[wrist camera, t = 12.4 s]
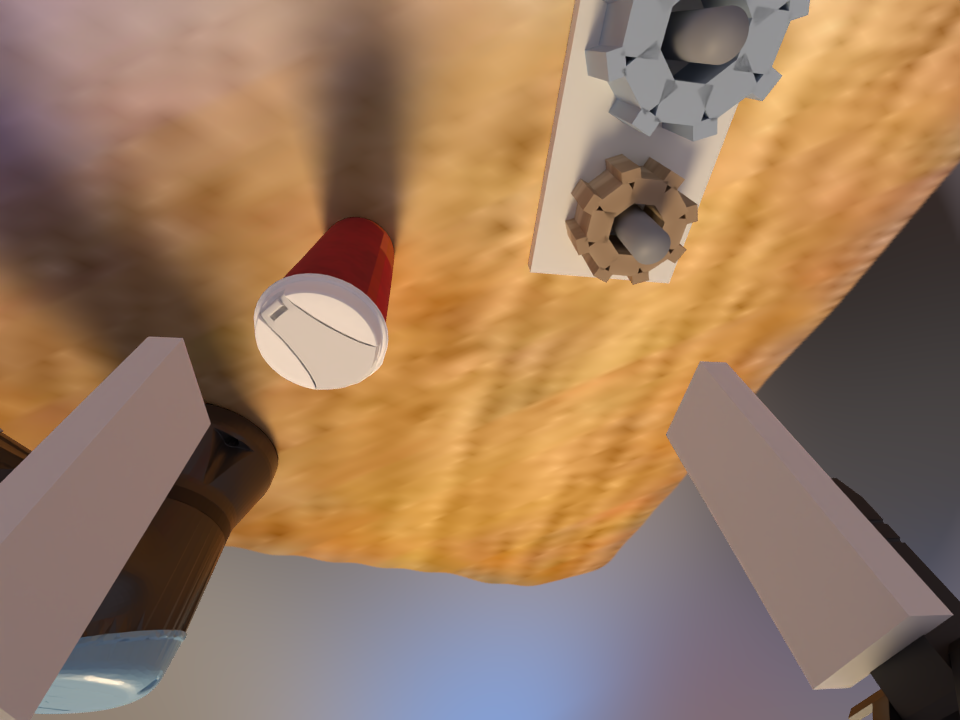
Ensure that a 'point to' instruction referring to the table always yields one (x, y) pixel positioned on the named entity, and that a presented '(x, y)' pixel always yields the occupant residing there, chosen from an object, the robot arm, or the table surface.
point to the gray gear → (696, 87)
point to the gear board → (627, 136)
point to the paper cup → (330, 309)
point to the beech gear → (614, 196)
